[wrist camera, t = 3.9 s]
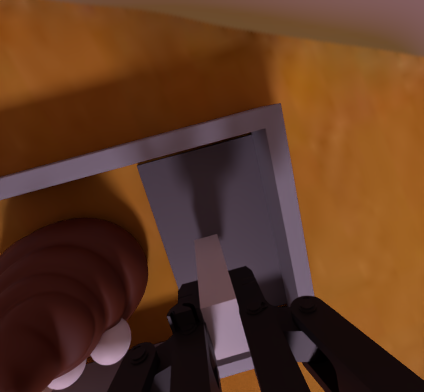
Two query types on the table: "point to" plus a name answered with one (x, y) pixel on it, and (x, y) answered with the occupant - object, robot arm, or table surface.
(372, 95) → the table surface
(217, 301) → the robot arm
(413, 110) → the table surface
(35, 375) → the poop emoji
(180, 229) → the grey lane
